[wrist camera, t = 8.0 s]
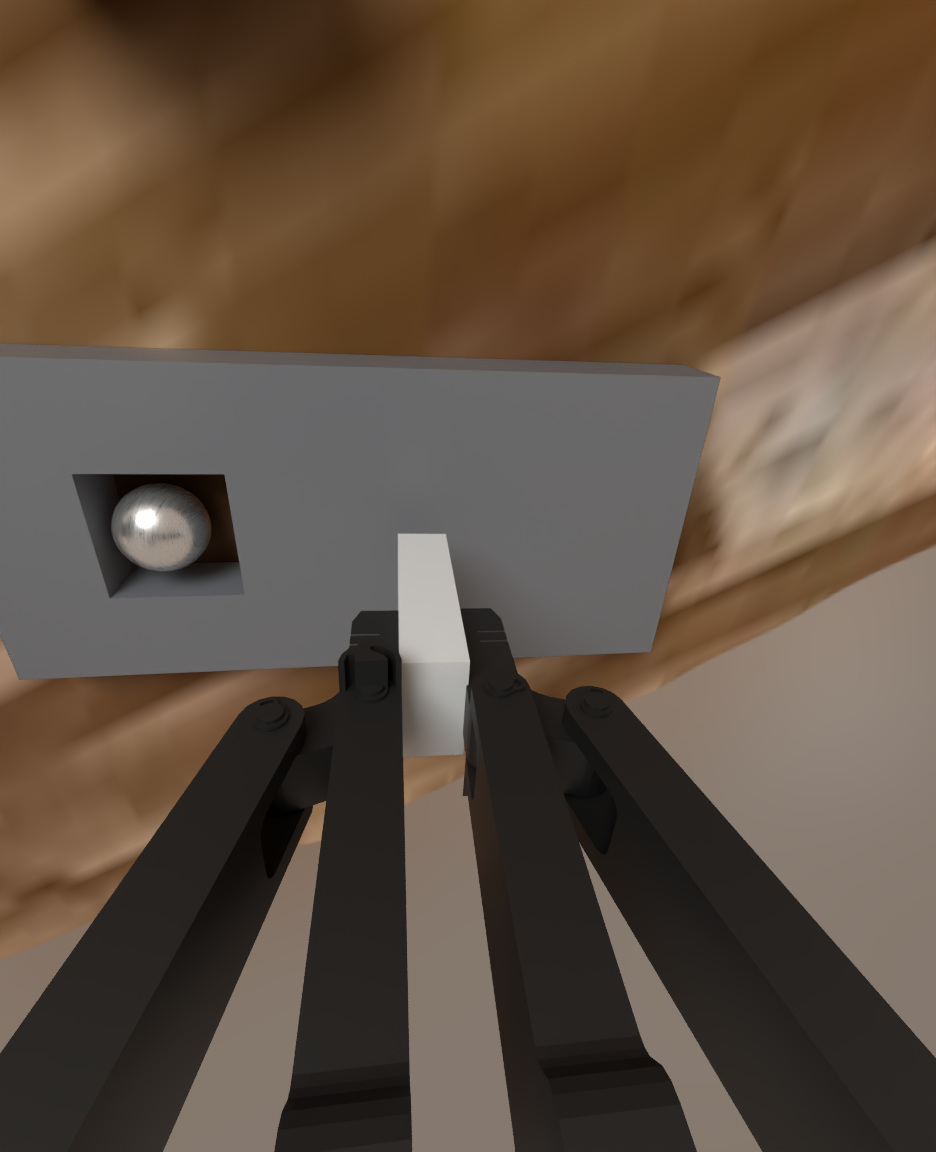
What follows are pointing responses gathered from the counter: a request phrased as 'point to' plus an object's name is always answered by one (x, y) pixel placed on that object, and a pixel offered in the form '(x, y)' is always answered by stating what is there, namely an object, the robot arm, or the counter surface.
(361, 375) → the hole plate
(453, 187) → the counter surface
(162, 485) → the steel ball
